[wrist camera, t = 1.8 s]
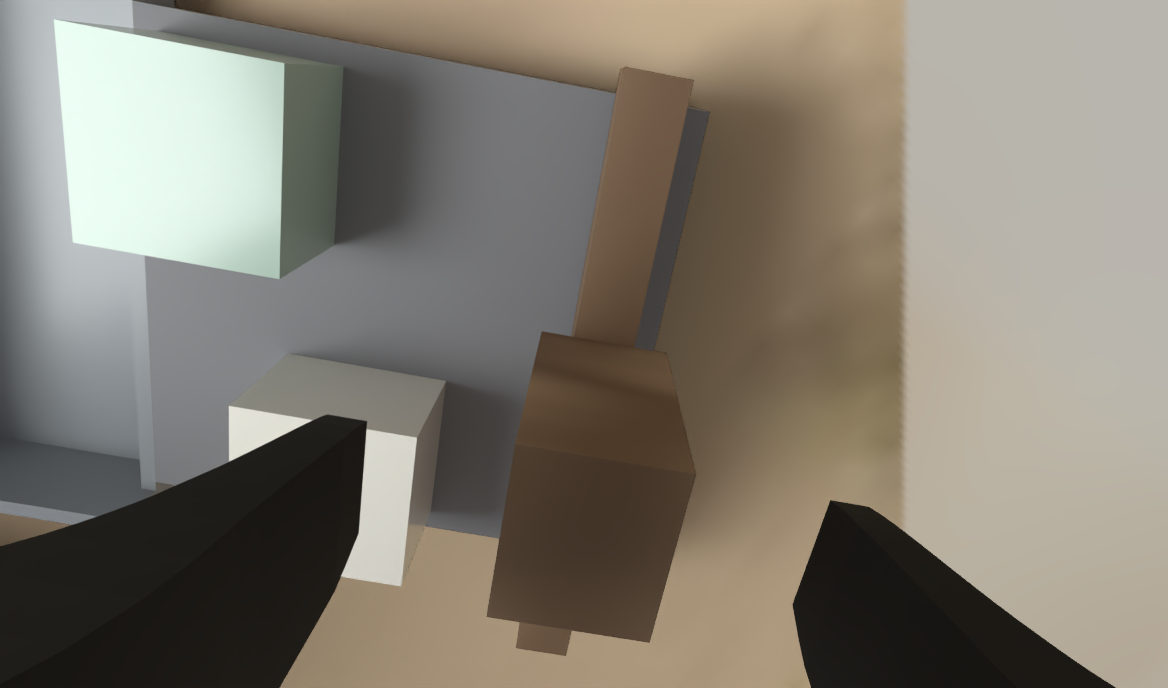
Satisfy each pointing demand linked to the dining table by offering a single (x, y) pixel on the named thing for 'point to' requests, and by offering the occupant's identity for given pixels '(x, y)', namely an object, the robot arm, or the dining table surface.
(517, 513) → the walnut mallet
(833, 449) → the dining table surface
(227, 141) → the pale mint cube
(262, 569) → the robot arm
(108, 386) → the tray
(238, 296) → the charcoal board
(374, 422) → the matte white cube
